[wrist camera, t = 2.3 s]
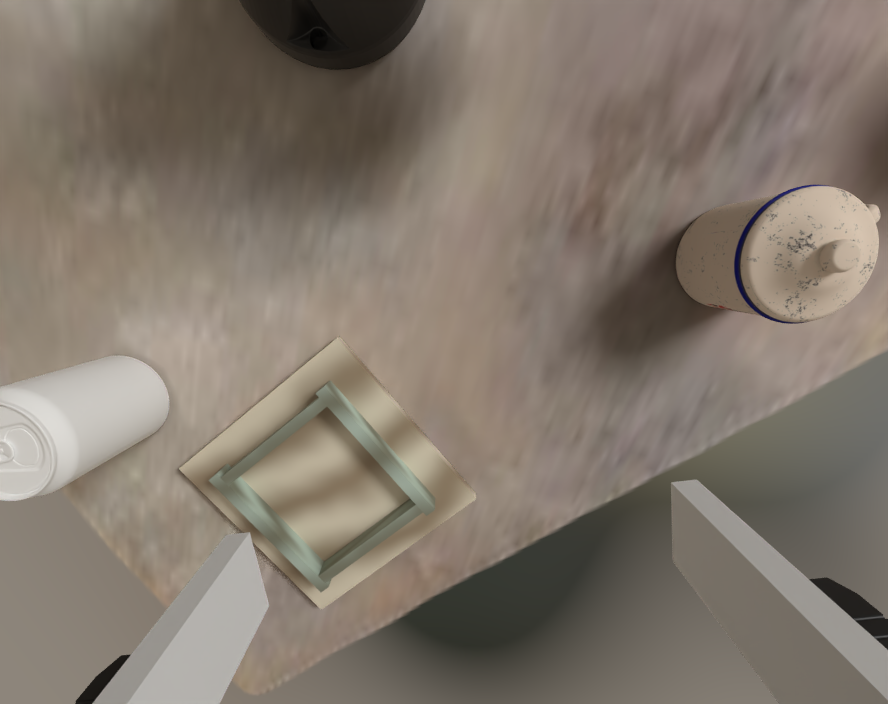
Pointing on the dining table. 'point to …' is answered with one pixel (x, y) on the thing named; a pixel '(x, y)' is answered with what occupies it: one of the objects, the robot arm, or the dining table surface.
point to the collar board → (329, 476)
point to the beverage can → (75, 422)
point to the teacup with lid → (781, 254)
